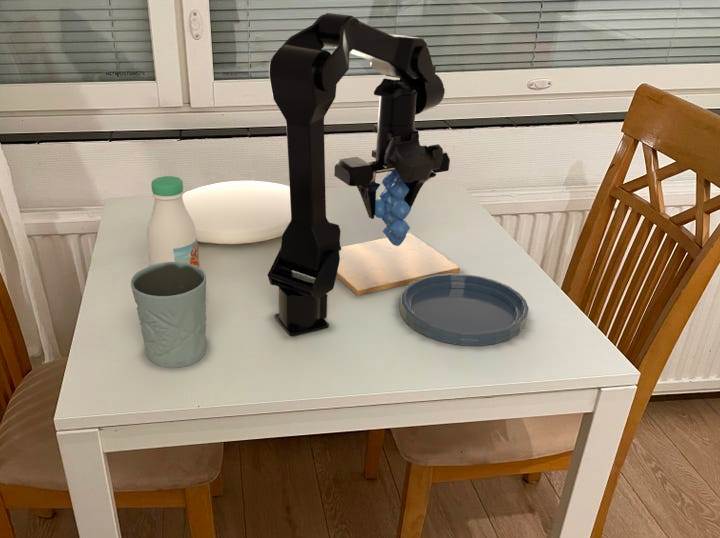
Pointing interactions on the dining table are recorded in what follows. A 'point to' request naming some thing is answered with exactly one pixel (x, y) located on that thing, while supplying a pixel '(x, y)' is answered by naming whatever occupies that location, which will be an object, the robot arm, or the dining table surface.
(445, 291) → the round blue tray
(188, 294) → the green plant pot
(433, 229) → the dining table surface
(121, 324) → the dining table surface
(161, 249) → the milk bottle
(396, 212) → the grapes
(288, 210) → the plate
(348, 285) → the bamboo board
